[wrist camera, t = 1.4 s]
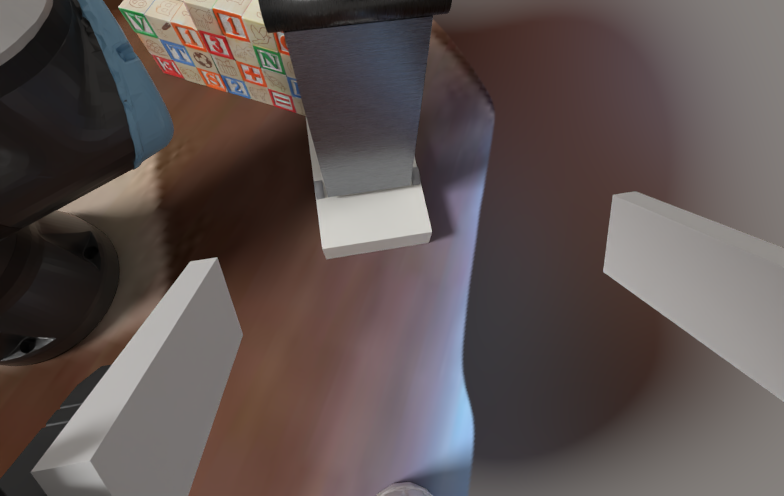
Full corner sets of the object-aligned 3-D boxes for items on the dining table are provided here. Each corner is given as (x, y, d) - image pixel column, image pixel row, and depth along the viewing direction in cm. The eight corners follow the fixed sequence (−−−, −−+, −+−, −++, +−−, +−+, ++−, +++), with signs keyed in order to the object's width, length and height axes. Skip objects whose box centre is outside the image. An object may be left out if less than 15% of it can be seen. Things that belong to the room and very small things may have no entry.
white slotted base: (428, 242, 42) (437, 214, 36) (326, 259, 41) (315, 233, 35) (401, 121, 48) (404, 77, 41) (310, 133, 47) (298, 90, 40)
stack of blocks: (162, 75, 50) (96, -23, 38) (186, 40, 52) (131, -63, 40) (320, 121, 48) (301, 33, 36) (339, 82, 50) (326, -12, 38)
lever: (418, 188, 40) (455, -19, 20) (320, 202, 39) (257, 2, 19) (414, 167, 41) (444, -49, 21) (317, 181, 40) (254, -31, 20)
